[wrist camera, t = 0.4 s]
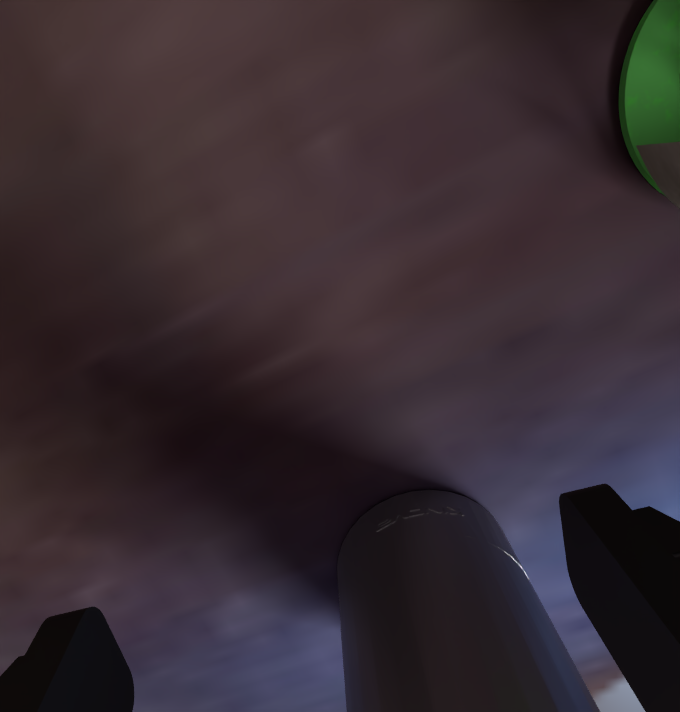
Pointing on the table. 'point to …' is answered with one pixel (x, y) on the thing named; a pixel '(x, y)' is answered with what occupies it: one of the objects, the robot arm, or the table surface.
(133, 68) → the table surface
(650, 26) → the toy burger
